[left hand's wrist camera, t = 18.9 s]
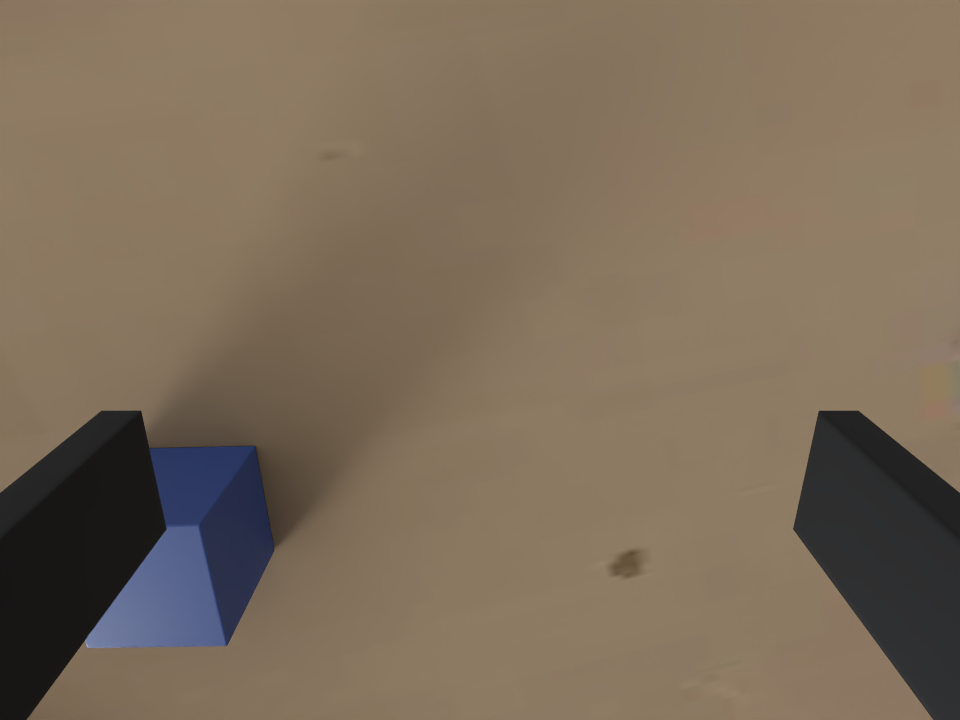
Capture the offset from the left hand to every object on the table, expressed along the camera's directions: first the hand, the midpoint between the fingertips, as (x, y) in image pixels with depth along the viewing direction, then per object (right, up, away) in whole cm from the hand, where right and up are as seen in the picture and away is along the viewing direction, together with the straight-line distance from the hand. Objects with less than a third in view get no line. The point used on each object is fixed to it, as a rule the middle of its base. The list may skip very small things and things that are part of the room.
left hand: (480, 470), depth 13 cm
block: (-15, -6, +23) cm, 28 cm away
